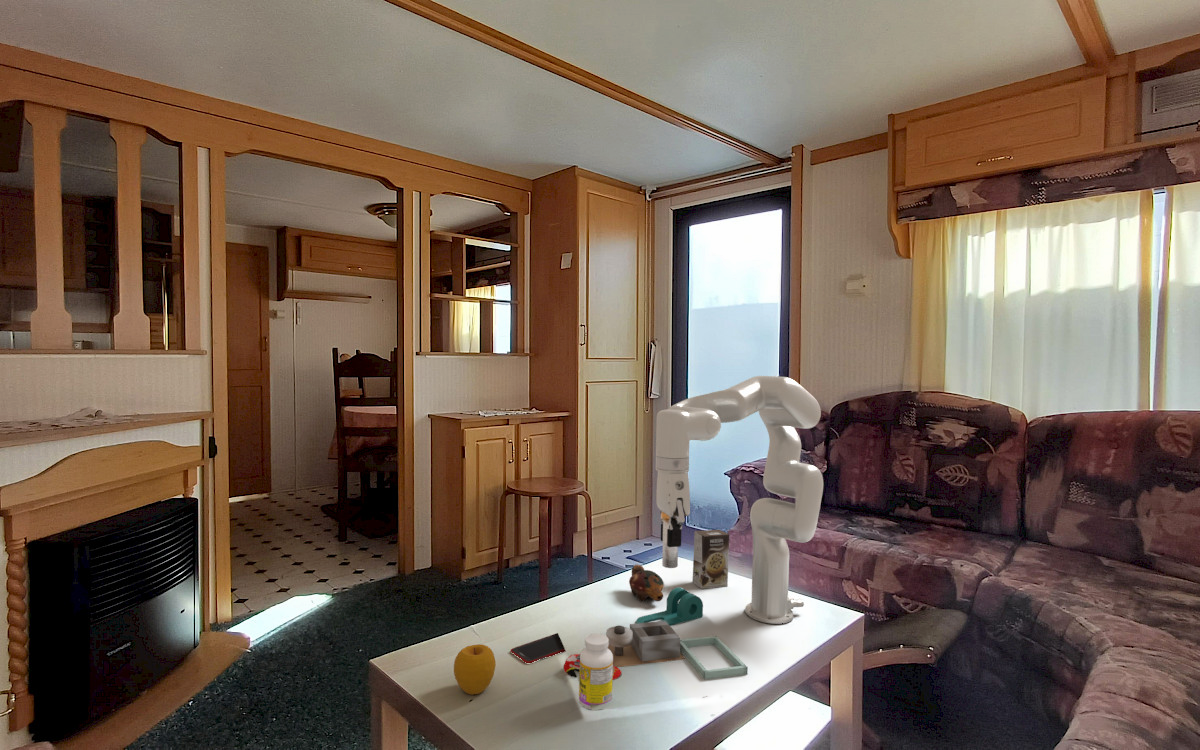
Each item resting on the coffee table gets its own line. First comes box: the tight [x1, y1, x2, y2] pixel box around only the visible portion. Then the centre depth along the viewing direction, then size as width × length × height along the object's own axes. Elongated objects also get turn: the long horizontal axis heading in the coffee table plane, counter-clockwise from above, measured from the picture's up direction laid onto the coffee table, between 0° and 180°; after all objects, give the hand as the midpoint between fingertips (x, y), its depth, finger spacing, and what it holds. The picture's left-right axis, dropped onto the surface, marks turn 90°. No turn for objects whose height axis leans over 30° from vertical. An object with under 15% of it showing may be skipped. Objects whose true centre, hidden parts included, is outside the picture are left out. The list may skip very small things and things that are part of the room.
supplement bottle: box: [578, 633, 613, 711], centre depth 120 cm, size 7×7×13 cm
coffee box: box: [692, 529, 730, 589], centre depth 185 cm, size 9×6×16 cm
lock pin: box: [660, 511, 679, 569], centre depth 138 cm, size 4×4×12 cm
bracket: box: [635, 586, 704, 627], centre depth 156 cm, size 18×7×8 cm, turn 121°
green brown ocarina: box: [628, 564, 665, 602], centre depth 174 cm, size 10×15×8 cm, turn 31°
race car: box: [563, 653, 622, 681], centre depth 130 cm, size 13×5×4 cm, turn 63°
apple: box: [453, 643, 497, 696], centre depth 124 cm, size 8×8×9 cm
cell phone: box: [510, 632, 567, 664], centre depth 142 cm, size 8×15×1 cm, turn 130°
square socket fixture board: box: [605, 620, 686, 668], centre depth 138 cm, size 17×11×8 cm, turn 105°
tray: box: [680, 635, 749, 680], centre depth 135 cm, size 10×15×3 cm, turn 15°
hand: (670, 542), depth 138 cm, fingers closed on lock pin, 3 cm apart
